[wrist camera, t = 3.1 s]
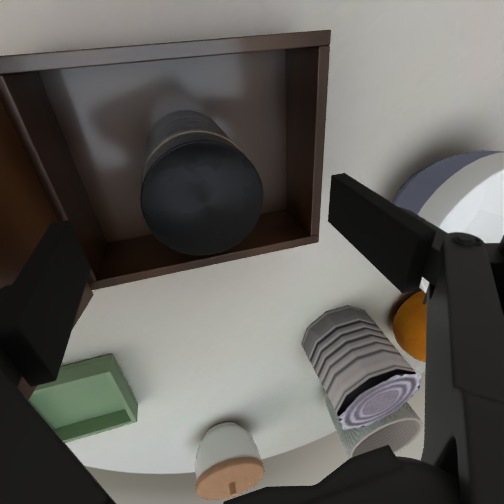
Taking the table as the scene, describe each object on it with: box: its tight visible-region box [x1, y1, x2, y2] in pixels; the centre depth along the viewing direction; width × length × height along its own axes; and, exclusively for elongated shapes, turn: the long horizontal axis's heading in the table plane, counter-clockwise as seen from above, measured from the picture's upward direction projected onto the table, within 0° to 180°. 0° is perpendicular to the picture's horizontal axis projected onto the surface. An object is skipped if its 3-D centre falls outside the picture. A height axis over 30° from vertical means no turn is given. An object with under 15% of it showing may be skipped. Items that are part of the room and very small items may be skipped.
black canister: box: [140, 110, 264, 255], centre depth 22 cm, size 7×7×11 cm
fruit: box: [393, 290, 427, 362], centre depth 45 cm, size 12×12×10 cm
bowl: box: [393, 150, 504, 293], centre depth 33 cm, size 16×16×10 cm
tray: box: [28, 354, 138, 443], centre depth 38 cm, size 11×11×3 cm
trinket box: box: [195, 422, 264, 500], centre depth 49 cm, size 11×11×9 cm
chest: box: [0, 30, 331, 290], centre depth 24 cm, size 20×16×7 cm
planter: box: [325, 393, 423, 459], centre depth 51 cm, size 12×12×11 cm
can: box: [302, 306, 421, 430], centre depth 42 cm, size 11×11×12 cm
